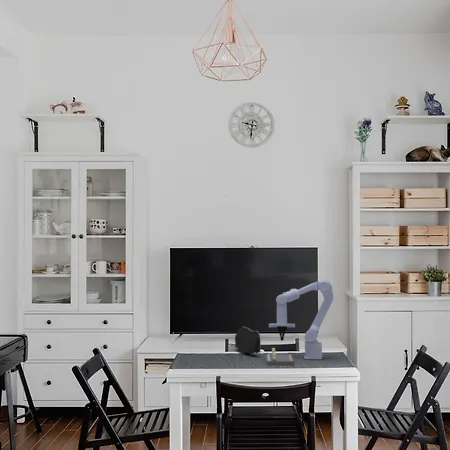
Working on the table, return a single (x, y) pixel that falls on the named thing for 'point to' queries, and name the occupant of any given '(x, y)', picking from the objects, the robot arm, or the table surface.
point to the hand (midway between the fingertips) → (282, 340)
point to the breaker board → (280, 359)
